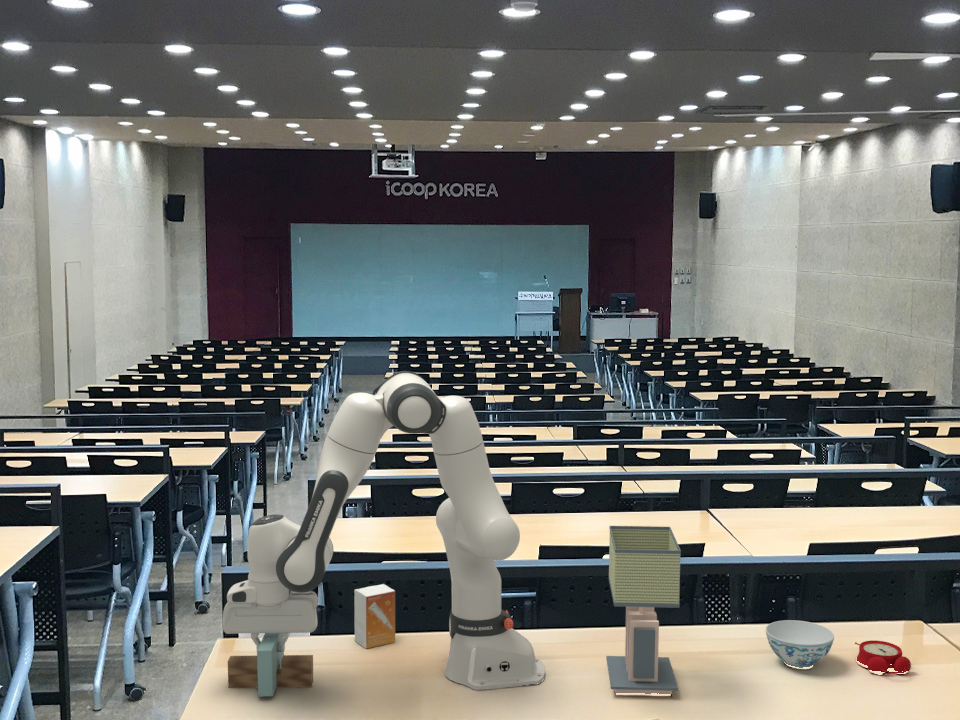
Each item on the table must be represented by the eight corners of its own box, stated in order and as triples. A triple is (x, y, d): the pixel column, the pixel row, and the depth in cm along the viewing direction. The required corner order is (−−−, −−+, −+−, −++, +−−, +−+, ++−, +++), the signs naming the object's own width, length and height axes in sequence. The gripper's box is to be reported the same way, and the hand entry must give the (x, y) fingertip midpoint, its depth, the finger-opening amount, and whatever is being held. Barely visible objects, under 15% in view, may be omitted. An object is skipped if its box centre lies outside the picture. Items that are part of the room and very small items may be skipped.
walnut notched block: (313, 681, 232) (312, 654, 232) (311, 686, 229) (311, 660, 229) (231, 682, 232) (230, 655, 231) (228, 687, 229) (227, 661, 228)
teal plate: (284, 665, 238) (283, 623, 237) (272, 696, 223) (271, 650, 221) (270, 665, 238) (269, 623, 237) (258, 696, 222) (257, 650, 221)
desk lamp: (605, 664, 242) (608, 525, 238) (668, 666, 241) (671, 526, 237) (611, 699, 223) (613, 549, 220) (678, 701, 223) (682, 550, 219)
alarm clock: (891, 638, 248) (919, 649, 234) (892, 666, 248) (921, 678, 233) (847, 639, 248) (873, 649, 233) (848, 666, 247) (874, 679, 233)
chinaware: (764, 648, 251) (766, 617, 251) (831, 655, 247) (832, 623, 247) (764, 673, 237) (765, 640, 236) (834, 681, 233) (835, 647, 232)
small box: (366, 649, 250) (365, 596, 249) (354, 641, 256) (353, 589, 254) (396, 642, 255) (395, 590, 253) (383, 634, 260) (383, 583, 259)
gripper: (319, 584, 232) (320, 645, 233) (225, 585, 231) (227, 646, 233) (315, 594, 225) (317, 656, 227) (219, 595, 225) (221, 657, 226)
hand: (270, 651), depth 230 cm, fingers closed on teal plate, 3 cm apart
